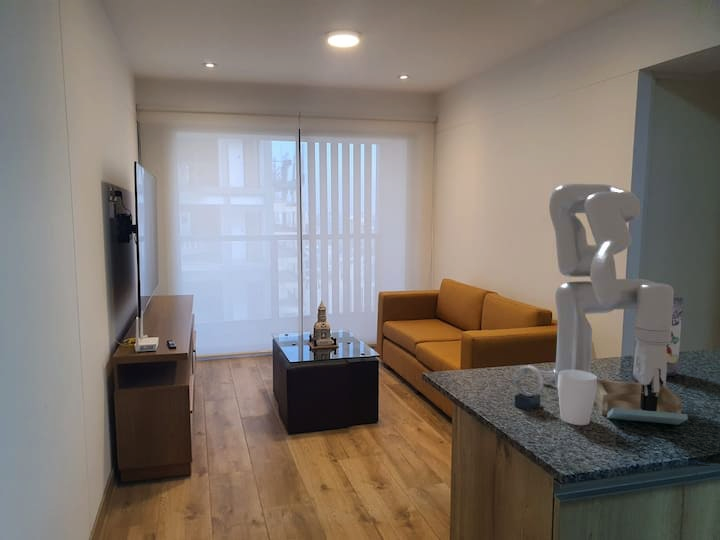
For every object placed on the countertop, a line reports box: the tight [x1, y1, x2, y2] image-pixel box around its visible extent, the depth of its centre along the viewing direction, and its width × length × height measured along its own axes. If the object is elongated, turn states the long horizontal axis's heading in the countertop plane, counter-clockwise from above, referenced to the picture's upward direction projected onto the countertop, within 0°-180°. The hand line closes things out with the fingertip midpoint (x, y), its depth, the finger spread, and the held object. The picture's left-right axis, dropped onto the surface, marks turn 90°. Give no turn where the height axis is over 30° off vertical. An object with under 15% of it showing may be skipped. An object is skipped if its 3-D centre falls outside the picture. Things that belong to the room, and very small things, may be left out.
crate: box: [594, 379, 683, 417], centre depth 139 cm, size 18×12×6 cm
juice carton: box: [666, 294, 683, 377], centre depth 172 cm, size 9×10×27 cm
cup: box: [557, 370, 598, 426], centre depth 132 cm, size 9×9×12 cm
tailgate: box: [606, 408, 689, 426], centre depth 129 cm, size 16×1×7 cm
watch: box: [512, 364, 545, 412], centre depth 142 cm, size 6×8×11 cm
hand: (648, 410), depth 127 cm, fingers closed
